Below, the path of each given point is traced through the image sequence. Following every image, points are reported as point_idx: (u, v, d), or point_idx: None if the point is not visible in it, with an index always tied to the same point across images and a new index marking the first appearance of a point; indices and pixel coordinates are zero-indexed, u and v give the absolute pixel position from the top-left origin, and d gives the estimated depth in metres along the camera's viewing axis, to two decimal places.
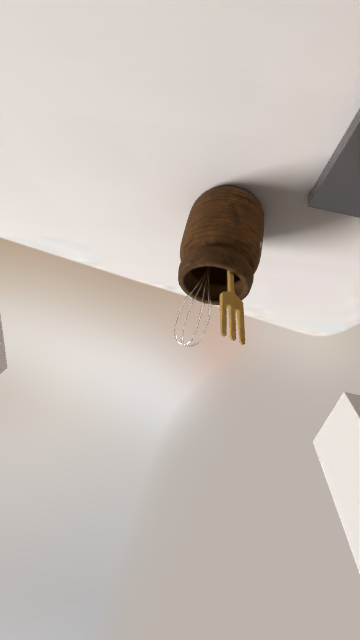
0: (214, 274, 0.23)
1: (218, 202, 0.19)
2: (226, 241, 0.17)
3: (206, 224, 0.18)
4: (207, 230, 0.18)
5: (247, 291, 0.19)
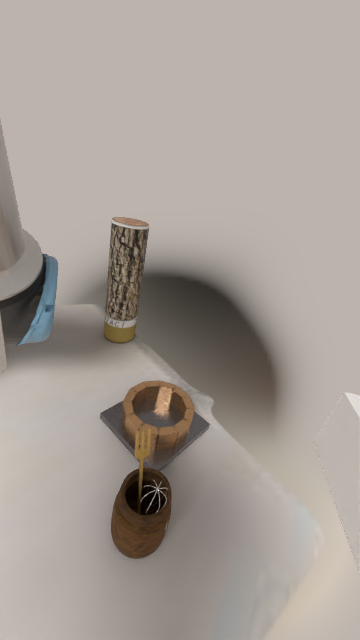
0: None
1: None
2: None
3: None
4: (118, 493, 0.28)
5: (161, 473, 0.29)
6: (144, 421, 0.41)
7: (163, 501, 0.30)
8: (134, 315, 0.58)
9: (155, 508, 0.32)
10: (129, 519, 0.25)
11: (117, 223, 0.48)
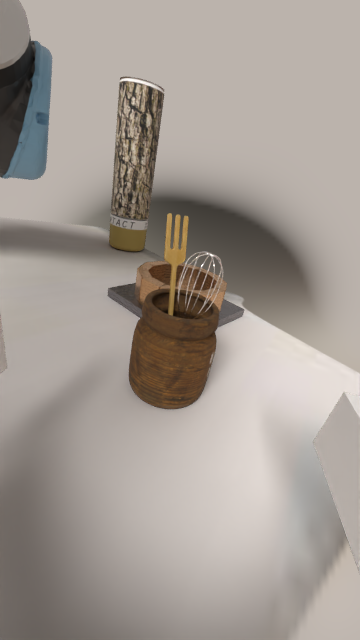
0: None
1: None
2: None
3: None
4: None
5: (200, 295, 0.20)
6: None
7: None
8: (145, 215, 0.49)
9: None
10: (161, 325, 0.16)
11: (127, 79, 0.39)
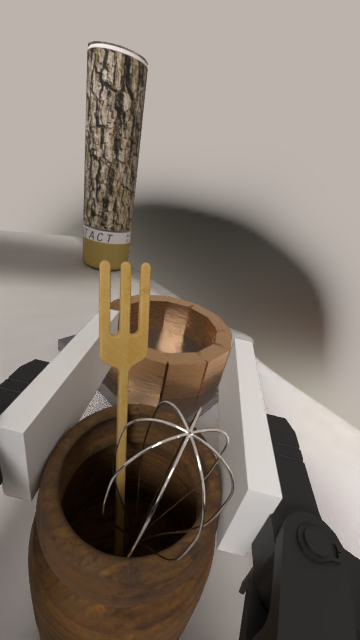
0: None
1: None
2: None
3: None
4: None
5: (182, 419, 0.10)
6: None
7: (186, 502, 0.11)
8: (126, 226, 0.39)
9: (164, 520, 0.13)
10: (65, 577, 0.06)
11: (95, 44, 0.29)
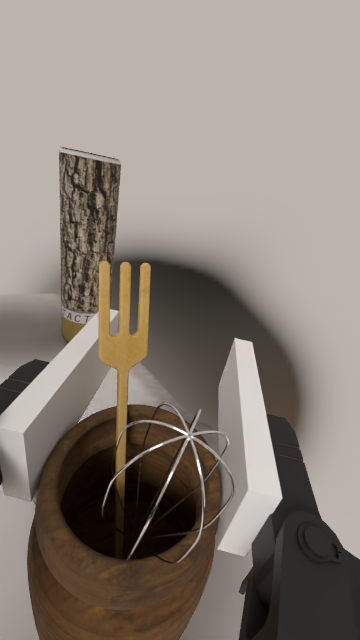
0: None
1: None
2: None
3: None
4: None
5: None
6: None
7: (186, 503, 0.11)
8: None
9: (164, 521, 0.13)
10: (64, 579, 0.06)
11: (66, 150, 0.29)
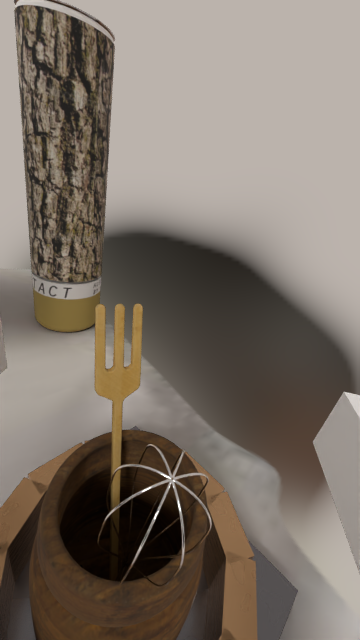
0: None
1: None
2: None
3: None
4: None
5: (172, 444, 0.10)
6: None
7: (178, 520, 0.12)
8: (92, 273, 0.27)
9: (157, 536, 0.13)
10: (63, 600, 0.07)
11: (22, 1, 0.18)
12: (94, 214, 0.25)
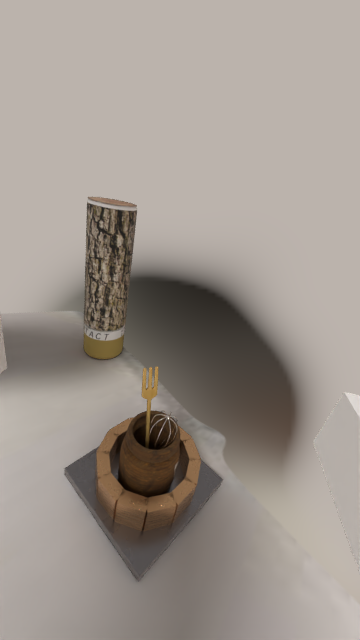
0: None
1: None
2: None
3: None
4: (125, 436, 0.28)
5: (168, 416, 0.28)
6: None
7: None
8: (120, 324, 0.45)
9: None
10: (138, 454, 0.24)
11: (93, 202, 0.36)
12: (123, 293, 0.43)
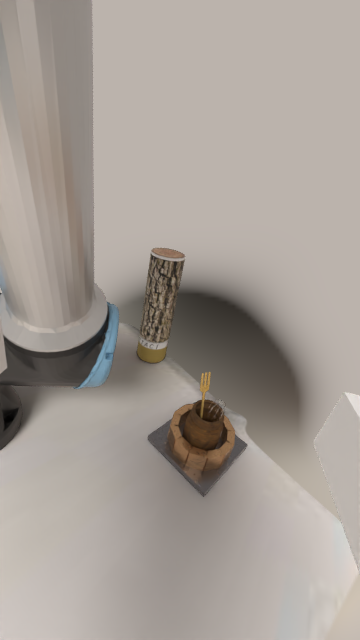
0: None
1: None
2: None
3: None
4: (188, 415, 0.44)
5: None
6: None
7: None
8: (167, 337, 0.61)
9: None
10: (201, 425, 0.41)
11: (157, 256, 0.52)
12: (171, 315, 0.59)
